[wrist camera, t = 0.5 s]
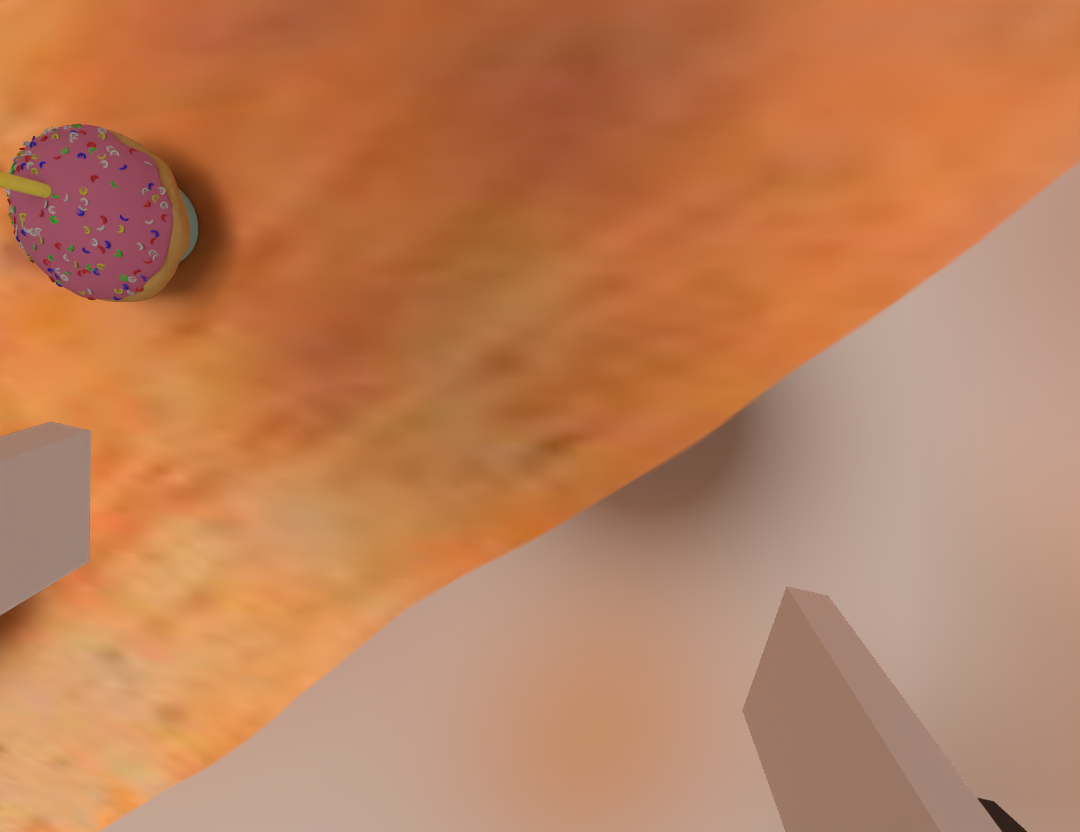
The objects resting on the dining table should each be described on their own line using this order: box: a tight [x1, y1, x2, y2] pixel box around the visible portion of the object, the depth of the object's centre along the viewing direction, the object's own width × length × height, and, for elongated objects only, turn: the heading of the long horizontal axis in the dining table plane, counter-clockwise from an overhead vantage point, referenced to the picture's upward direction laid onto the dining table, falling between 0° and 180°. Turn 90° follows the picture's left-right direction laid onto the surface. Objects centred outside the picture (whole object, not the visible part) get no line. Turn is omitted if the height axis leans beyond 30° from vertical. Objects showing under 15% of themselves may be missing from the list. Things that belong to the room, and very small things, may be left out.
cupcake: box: [0, 124, 198, 302], centre depth 29 cm, size 9×8×12 cm
